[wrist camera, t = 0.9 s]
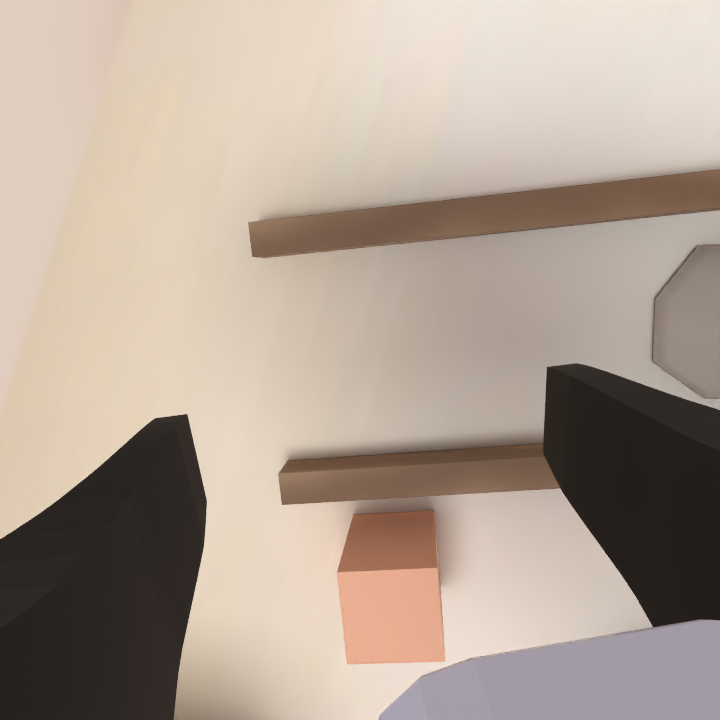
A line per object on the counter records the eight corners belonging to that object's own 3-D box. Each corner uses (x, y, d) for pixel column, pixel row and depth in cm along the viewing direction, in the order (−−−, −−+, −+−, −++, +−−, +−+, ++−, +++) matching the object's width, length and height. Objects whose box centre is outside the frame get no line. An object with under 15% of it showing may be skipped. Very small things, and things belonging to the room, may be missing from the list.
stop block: (440, 586, 31) (445, 661, 25) (361, 590, 31) (347, 664, 25) (434, 510, 30) (437, 567, 24) (353, 514, 30) (337, 572, 25)
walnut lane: (900, 452, 28) (937, 465, 26) (290, 490, 31) (281, 504, 29) (904, 154, 26) (944, 144, 24) (259, 226, 29) (248, 222, 27)
